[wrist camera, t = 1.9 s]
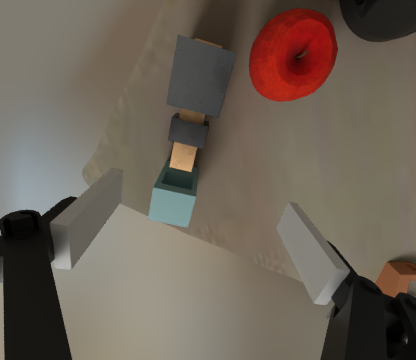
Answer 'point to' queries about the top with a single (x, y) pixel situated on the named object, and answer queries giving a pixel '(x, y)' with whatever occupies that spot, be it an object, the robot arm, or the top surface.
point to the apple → (293, 55)
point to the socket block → (174, 196)
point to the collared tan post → (187, 134)
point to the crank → (396, 277)
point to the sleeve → (199, 76)
